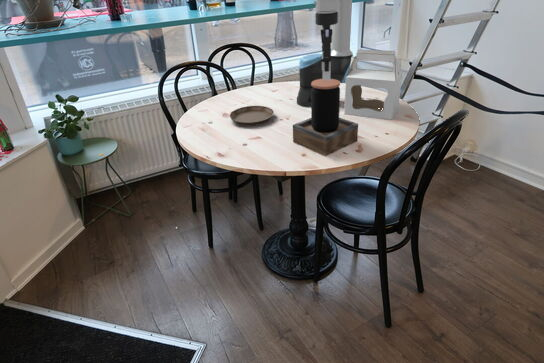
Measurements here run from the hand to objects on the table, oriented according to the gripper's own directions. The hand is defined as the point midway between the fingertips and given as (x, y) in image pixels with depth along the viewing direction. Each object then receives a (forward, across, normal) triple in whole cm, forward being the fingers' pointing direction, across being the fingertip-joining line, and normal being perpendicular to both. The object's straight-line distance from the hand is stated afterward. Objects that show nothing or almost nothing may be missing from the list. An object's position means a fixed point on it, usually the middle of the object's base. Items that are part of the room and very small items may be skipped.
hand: (325, 74), depth 137 cm
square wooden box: (+27, 0, 0) cm, 27 cm away
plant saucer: (+27, -26, -33) cm, 50 cm away
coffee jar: (+21, 0, 0) cm, 21 cm away
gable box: (+27, -32, +22) cm, 47 cm away
